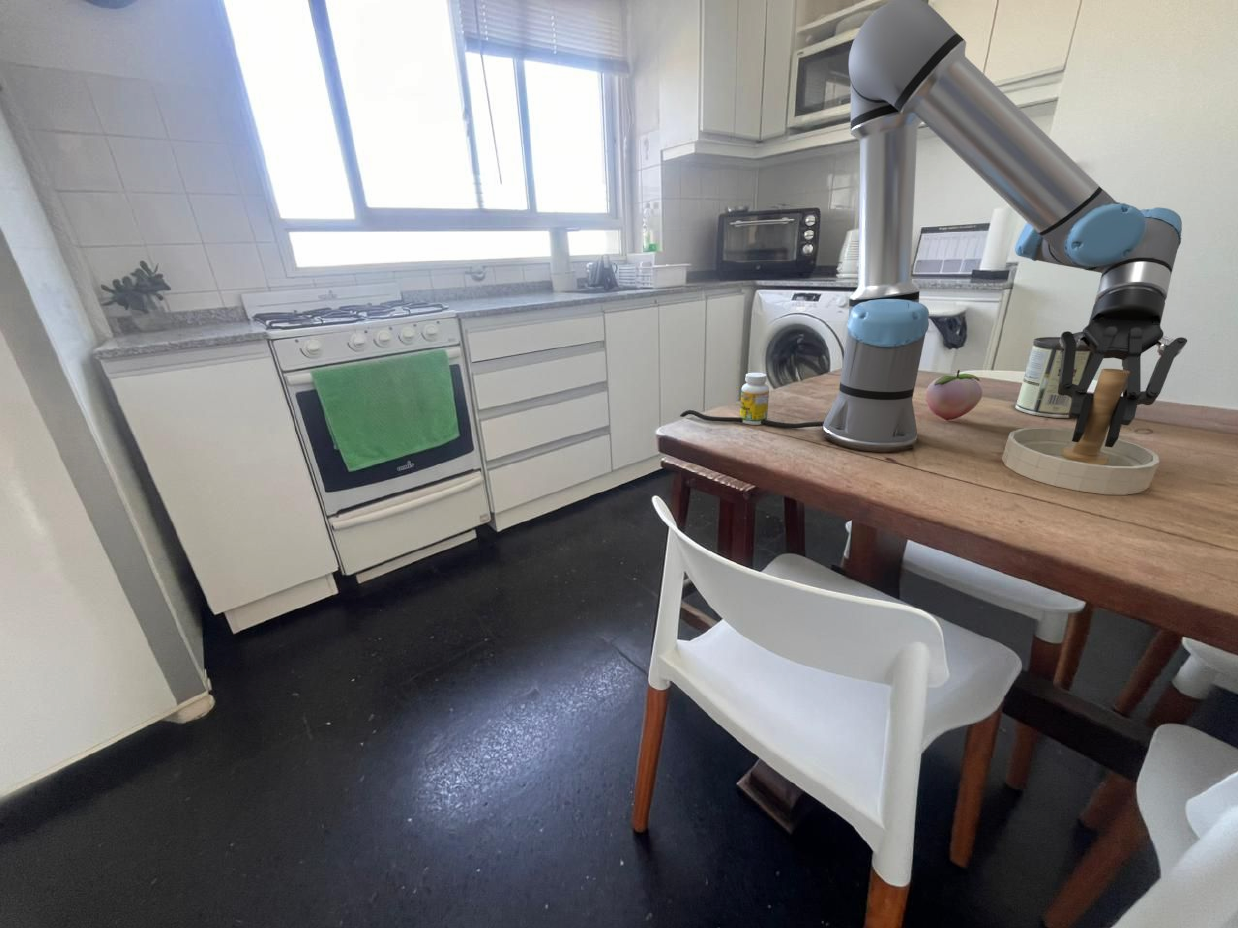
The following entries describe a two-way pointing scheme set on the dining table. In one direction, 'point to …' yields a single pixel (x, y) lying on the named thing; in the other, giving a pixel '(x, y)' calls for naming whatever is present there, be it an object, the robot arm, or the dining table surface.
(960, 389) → the decorative fruit
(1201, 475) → the dining table surface
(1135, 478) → the bowl
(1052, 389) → the coffee can
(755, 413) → the supplement bottle
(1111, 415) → the muddler
